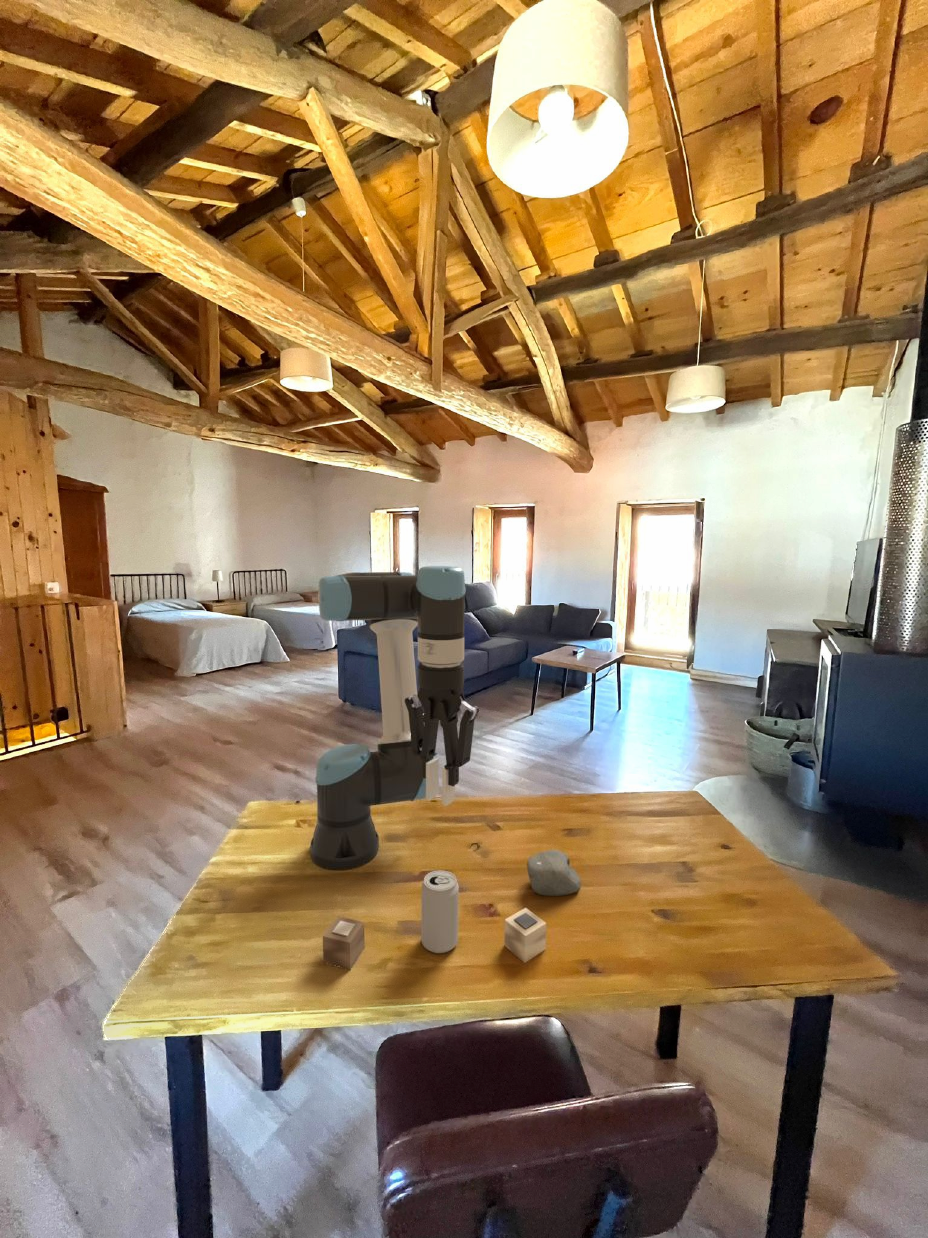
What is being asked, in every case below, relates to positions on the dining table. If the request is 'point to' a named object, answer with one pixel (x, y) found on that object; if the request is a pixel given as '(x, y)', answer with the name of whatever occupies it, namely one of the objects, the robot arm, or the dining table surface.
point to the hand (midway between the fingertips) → (440, 799)
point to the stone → (552, 874)
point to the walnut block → (343, 942)
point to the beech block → (525, 934)
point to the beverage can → (440, 911)
